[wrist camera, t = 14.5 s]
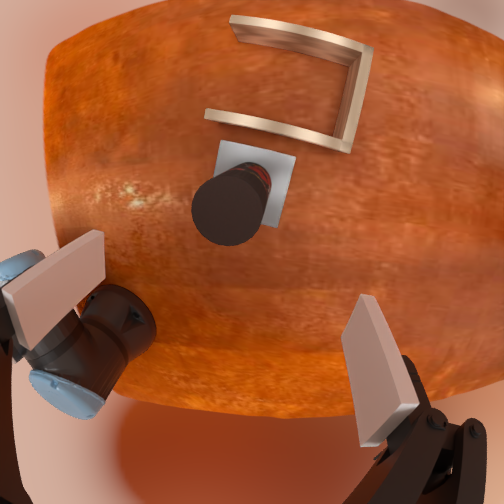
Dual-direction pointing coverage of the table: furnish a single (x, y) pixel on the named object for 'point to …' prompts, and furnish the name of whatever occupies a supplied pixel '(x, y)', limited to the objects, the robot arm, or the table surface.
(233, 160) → the mat
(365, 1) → the table surface
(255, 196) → the deodorant
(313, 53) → the bay
